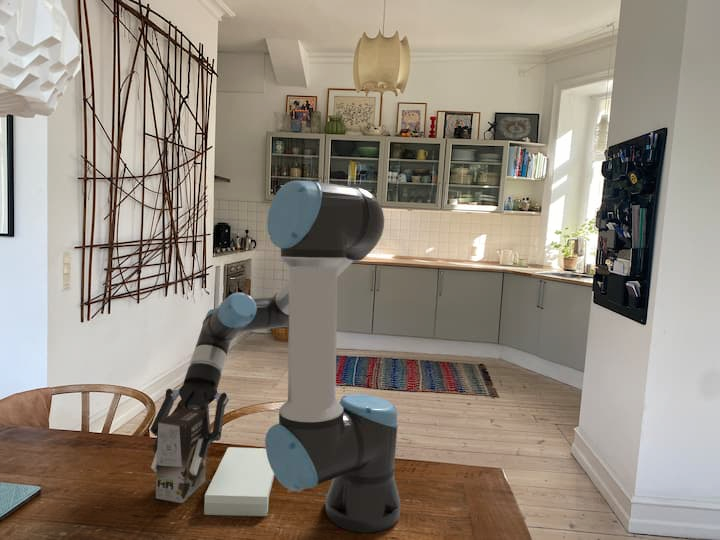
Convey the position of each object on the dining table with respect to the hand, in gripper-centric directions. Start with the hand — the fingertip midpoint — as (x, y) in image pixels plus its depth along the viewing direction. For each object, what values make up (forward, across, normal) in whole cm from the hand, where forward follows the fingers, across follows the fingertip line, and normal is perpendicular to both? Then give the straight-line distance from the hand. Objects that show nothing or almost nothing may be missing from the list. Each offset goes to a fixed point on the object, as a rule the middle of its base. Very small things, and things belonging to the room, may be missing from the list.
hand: (174, 471), depth 97 cm
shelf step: (0, -13, -9) cm, 16 cm away
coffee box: (+2, 0, -7) cm, 7 cm away
